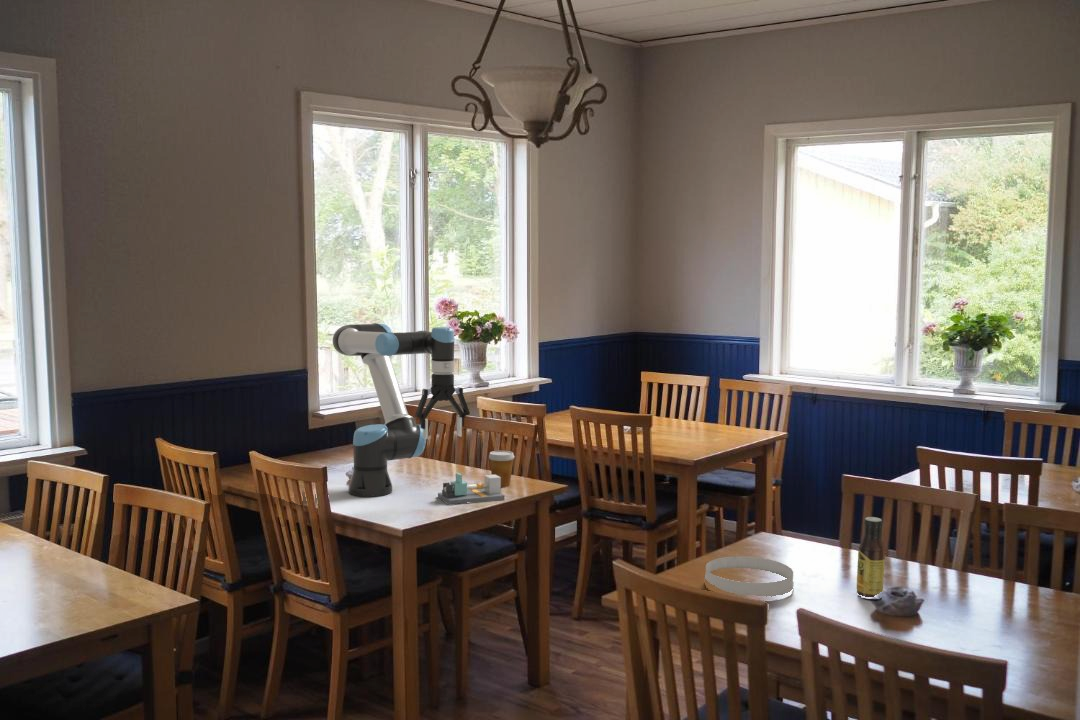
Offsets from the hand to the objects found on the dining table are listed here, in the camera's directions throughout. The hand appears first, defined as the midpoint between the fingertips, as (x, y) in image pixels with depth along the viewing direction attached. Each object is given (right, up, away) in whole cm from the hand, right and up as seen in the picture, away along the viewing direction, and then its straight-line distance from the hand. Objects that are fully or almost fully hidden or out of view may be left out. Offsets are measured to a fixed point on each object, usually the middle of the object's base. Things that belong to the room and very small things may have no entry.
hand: (442, 437), depth 334 cm
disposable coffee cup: (+19, -20, +27) cm, 39 cm away
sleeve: (+5, -20, +4) cm, 21 cm away
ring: (+86, -32, -84) cm, 125 cm away
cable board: (+9, -22, +6) cm, 24 cm away
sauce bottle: (+114, -33, -91) cm, 150 cm away
